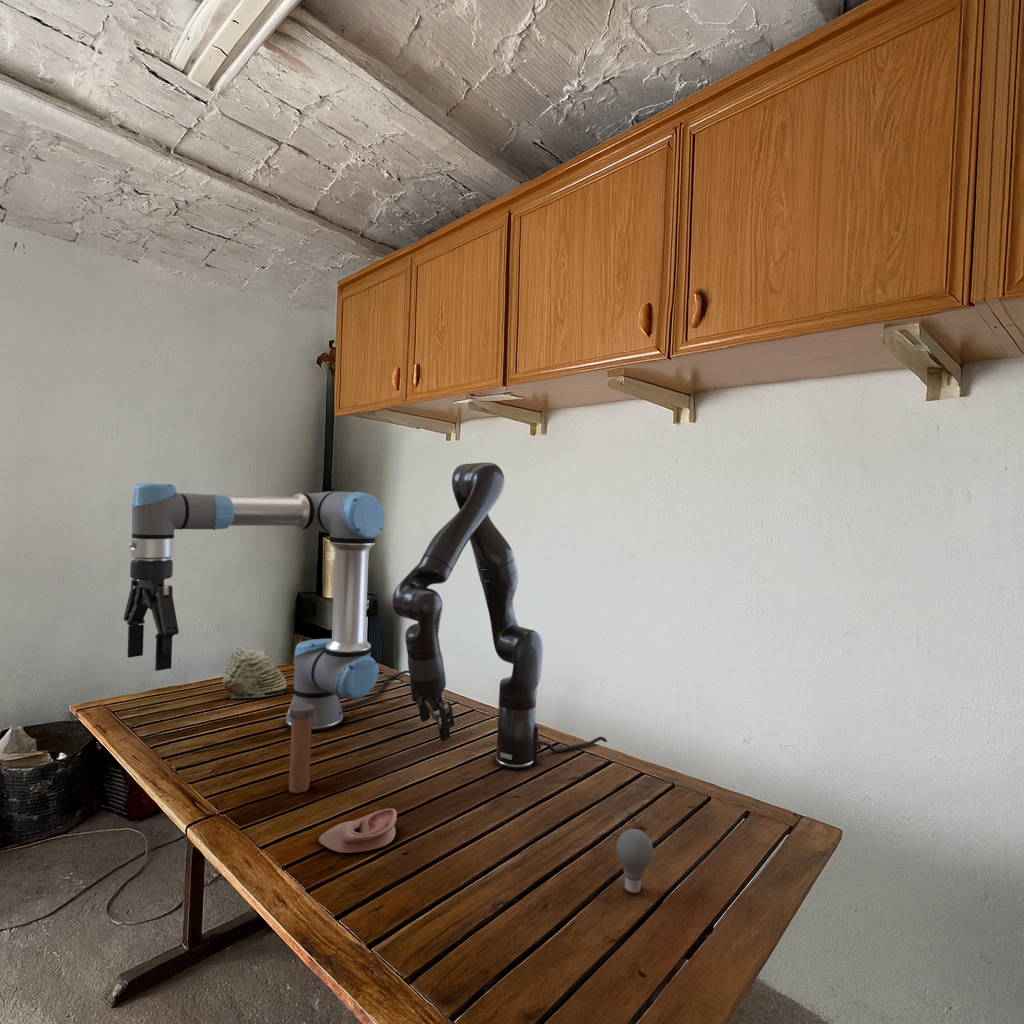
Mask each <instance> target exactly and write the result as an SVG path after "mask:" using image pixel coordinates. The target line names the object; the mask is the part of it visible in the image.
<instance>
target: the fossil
mask: <svg viewBox="0 0 1024 1024" xmlns="http://www.w3.org/2000/svg"><path fill="white" fill-rule="evenodd" d="M222 676H223V677H222V685H223V687H224V688H225V690H226V691H228V693H229V698H230V699H250V698H264V697H271V696H275V695H281V694H284V693H285V691H286V689H287V687H288V686H287V680H286V678H285V676H284V674H283V673H282V672H281V669H279V668H278V667H277V665H276V663H275V662H274V660H273V659H272V658H271V657H270V656H269V655H268V654H267V653H266V652H265V650H264V649H263V648H260V647H258V648H251V647H247V646H246V647H245V646H238V647H237V648H236V649H235V650H233V651H232V653H231V656H230V657H229V659H228V660H227V663H226V666H225V668H224V671H223V675H222Z"/></svg>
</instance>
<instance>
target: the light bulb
mask: <svg viewBox="0 0 1024 1024" xmlns="http://www.w3.org/2000/svg"><path fill="white" fill-rule="evenodd" d="M615 849H616V854H617V857H618V859H619V861H620V863H621V865H622V867H623V873H624V874H623V875H624V876H625V878H624V888H625V890H627V891H628V892H630V893H634V894H635V893H639V892H640V891H641V889H642V887H641V886H642V879H643V877H644V875H645V871H646V868H647V867H648V866H649V864H650V863H651V861H652V859H653V855H654V847H653V843H652V841H651V838H649V836H648V835H647V834H646V833H645V832H643V831H642V830H641V829H636V828H629V829H627V830H625V831H623V832H622V833H621V834H620V835H619V837H618V839H617V841H616V847H615Z"/></svg>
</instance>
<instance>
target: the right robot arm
mask: <svg viewBox="0 0 1024 1024" xmlns="http://www.w3.org/2000/svg"><path fill="white" fill-rule="evenodd" d="M451 488H452V492H453V493H452V494H453V496H454V499H455V501H456V504H457V507H458V510H459V511H458V512H457V513H456V514H455V515H454V516H453V517H452V518H451V519H450V520H449V521H448V522H447V523H445V525H443V526H442V527H441V528H440V529H439V530H438V531H437V532H436V534H435V535H434V536H433V537H432V538H431V540H430V542H429V544H428V545H427V547H426V549H425V551H424V553H423V554H422V556H421V558H420V561H419V562H418V564H416V565H415V566H414V567H413V568H412V570H411V571H409V573H408V574H407V575H406V576H405V577H404V578H403V579H402V580H401V582H399V584H398V585H397V586H396V588H395V590H394V591H393V594H392V597H391V608H392V611H393V612H394V614H395V615H397V616H399V617H402V618H405V619H409V620H412V621H416V623H414V624H411V625H410V626H409V627H408V628H407V629H406V631H405V633H404V639H405V640H404V641H405V647H406V654H407V667H408V671H409V673H408V674H409V679H410V680H409V684H410V685H409V686H410V693H411V700H412V701H413V703H416V707H417V708H418V713H419V718H420V721H421V722H422V723H425V722H427V721H428V720H430V719H431V718H432V720H434V721H435V722H436V724H437V726H438V733H439V739H440V741H441V742H445V741H447V740H449V739H450V738H451V730H450V729H451V728H453V727H455V719H454V712H453V707H452V703H451V702H449V701H448V702H445V701H444V696H443V692H444V690H445V688H446V686H447V680H446V679H447V678H446V672H445V665H444V657H443V653H442V651H441V644H440V637H439V632H440V626H441V619H442V614H443V609H444V608H443V607H444V605H443V600H442V596H441V595H440V594H439V593H438V591H437V590H435V589H433V588H429V587H430V586H432V585H439V584H444V583H446V582H447V581H448V579H449V578H450V576H451V574H452V572H453V570H454V568H455V566H456V564H457V562H458V561H459V559H460V557H461V555H462V552H463V551H464V549H465V547H466V546H467V544H468V542H470V545H471V549H472V553H473V556H474V561H475V565H476V569H477V573H478V577H479V581H480V583H481V587H482V591H483V594H484V598H485V603H486V607H487V611H488V615H489V622H490V629H491V634H492V635H491V636H492V641H493V646H494V650H495V653H496V655H497V657H498V658H499V659H501V660H502V661H504V662H506V663H508V664H511V665H512V672H511V676H506V677H503V678H501V680H500V681H499V690H498V711H497V712H498V713H497V731H496V735H497V736H496V752H495V753H496V754H495V763H496V764H497V765H498V766H500V767H502V768H504V769H509V770H510V769H511V770H524V769H529V768H531V767H532V766H534V765H535V766H536V765H537V763H538V751H541V750H542V746H546V747H548V748H549V749H550V751H551V752H553V753H558V754H559V753H560V754H561V753H565V752H568V751H572V750H575V749H580V748H584V747H588V746H592V745H594V744H596V743H597V742H599V741H603V742H604V743H607V742H608V740H607V738H606V737H604V736H598V737H596V738H594V739H592V740H590V741H587V742H583V743H578V744H572V745H569V746H566V747H562V748H555V747H554V746H553V745H552V744H551V743H550V742H547V741H543V740H541V739H540V738H539V725H538V724H537V723H536V716H537V715H536V713H537V693H538V686H539V684H540V682H541V677H542V676H541V675H542V666H543V665H542V664H543V656H544V643H543V638H542V636H541V634H540V633H539V632H538V631H536V630H534V629H530V628H527V627H523V626H520V625H519V623H518V620H517V617H516V613H515V609H514V598H515V595H516V591H517V588H518V584H519V570H518V567H517V562H516V559H515V555H514V551H513V549H512V546H510V544H509V542H508V541H507V539H506V538H505V537H504V535H503V534H502V533H501V531H499V529H498V527H496V526H495V523H494V522H493V521H492V519H491V517H490V516H489V513H490V511H491V509H493V507H494V506H495V505H496V504H497V502H498V500H499V499H500V497H501V495H502V493H503V491H504V488H505V474H504V472H503V470H502V469H501V467H500V466H499V465H497V464H496V463H494V462H473V463H462V464H459V465H458V466H456V468H454V470H453V473H452V476H451ZM435 712H438V713H437V714H436V713H435Z"/></svg>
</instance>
